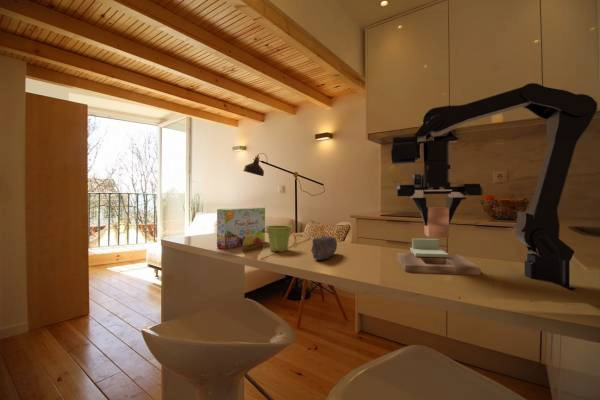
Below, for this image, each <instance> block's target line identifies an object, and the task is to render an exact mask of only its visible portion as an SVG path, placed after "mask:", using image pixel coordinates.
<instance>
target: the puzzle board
mask: <svg viewBox="0 0 600 400" xmlns="http://www.w3.org/2000/svg"><path fill="white" fill-rule="evenodd" d="M396 253H397V255H396V257H397V260H398V262H399V265H400V266H401V268H402V269H403V271H404V272H405V273H424V274H425V273H426V274H427V273H429V274H449V275H450V274H453V275H471V276H472V275H473V276H475V275H476V276H480V275H481V267H480V266H478V265H476V264H475V263H472V262H471V261H470V260H468V259H466V258H465V257H463V256H461V255H460V254H449V257H420V256H415V255H414V254H413V253H409V252H408V253H402V252H401V253H400V252H396Z"/></svg>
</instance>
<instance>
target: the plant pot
mask: <svg viewBox="0 0 600 400" xmlns="http://www.w3.org/2000/svg"><path fill="white" fill-rule="evenodd" d="M292 228H293V226H292V225H283V224H282V225H279V224H278V225H277V224H276V225H275V224H274V225H273V224H272V225H267V226H266V225H265V229H266V231H267V234H268V235H267V236H268V241H269V249H270V251H271V252H286V251H288V248H289V239H290V233H291V231H292Z"/></svg>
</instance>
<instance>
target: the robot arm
mask: <svg viewBox="0 0 600 400" xmlns="http://www.w3.org/2000/svg"><path fill="white" fill-rule="evenodd" d="M598 106H599V105H598V101H596V100H595V99H594V98H593V97H592V96H590V95H588V94H583V93H579V94H577V93H574V92H572V91H569V90H565V89H561V88H559V89H558V88H552V87H547V86H545V85H542V84H539V83H535V82H530V83H527V84H525V85H523V86H521V87H517V88H514V89H511V90H508V91H505V92H501V93H497V94H495V95H491V96H487V97H485V98H481V99H477V100H475V101H472V102H468V103H466V104H460V105H459V104H457V105H455V104H454V105H453V104H452V105H451V104H450V105H443V106H437V107H432V108H430V109H429V110H428V111H426V113H425V114H424V116H423V119H422V122H423V123H422V125H420V127H419V128H418V130H417V131H416V132H415V134H414V136H406V137H405V136H403V137H399V136H396V137H393V138H392V143H391V144H392V146H391V149H390V152H391V153H390V154H391V155H390V157H391V164H392V165H401V164H402V165H403V164H404V165H405V164H407V165H409V164H416V163H417V161H419V160H420V159H421V146H422V151H423V153H422V160H423V162H422V164H423V168H422V174H419V173H417V174H416V173H415V174H412V178H411V180H412V181H411V182H412V183H411V184H399V185H397V186H396V187H395V188H394V197H409V199H408V200H409V201H410V200H412V201H413V202H414V203H415V204H416V207H417V209H418V211H419V214H420V217H421V219H422V222H423V224H424V225H425V226H427V207H428V206H427V197H424V195H448V196H446V197H445V203H446V204H445V205H446V206H445V207H446V208H449V224H451V221H452V220H453V219H452V218H453V216H454V214H455V213H456V210H457V209H458V207H459V205H460V203H461V202H462V201H463V200H464V201H465V200H467V197H466V196H469V197H471V196H483V195H484V189H483V186H482V185H481V183H458V184H457V185H456V186H451V182H450V170H451V164H450V144H456V143H457V142H458V141H459V137H457V136H456V135H454V134H453V132H452V130H455V129H457V128H458V127H460V126H462V125H464V124H466V123H470V122H473V121H477V120H480V119H483V118H488V117H490V116H495V115H498V114H502V113H505V112H509V111H511V110H512V111H513V110H516V109H519V108H523V109H526V110H528V111H529V112H531V113H532V114H534V115H535V116H536V117H538V118H540V119H543V120H545V121H546V134H547V141H548V143H547V147H546V150H545V154H544V158H543V163H542V165H541V170H540V172H539V176H538V180H537V183H536V187H535V191H534V194H533V197H532V201H531V205H530V206H529V208H528V209H527V210H526V212H524V211H518V212H517V213H516V214H517V215H516V216H517V217H516V218H517V219H516V222H515V224H514V226H513V227H512V228H513V230H515V237H516V238H517V240H518V241H519V242H521V244H524V245H525V248H526V250H527V252H529V253H526V260H524V276H525V277H527V278H528V279H531V280H538V281H539V280H541V281H546V282H551V283H553V284H555V285H557V286H560V287H561V288H564V289H566V290H576V286H574V285H572V284H571V283H570V280H571V279H570V278H571V277H570V276H571V273H570V271H571V270H570V269H571V267H570V266H571V265H570V261H571V260H572V258H573V255H574V253H575V250H574V249H573V248H571V246H569V245H567V243H565V241H563V240H561V239H560V231H561V230H560V229H561V223H560V218H559V217H560V216H559V205H560V202H561V198H562V195H563V191H564V189H565V185H566V182H567V177H568V174H569V171H570V167H571V164H572V161H573V156H574V153H575V149H576V146H577V143H578V141H579V140H580V139H581V138H582V136H583V134H584V133H585V132H586V130H587V129H588V128H589V126H591V125H590V124H591V123H592V120H593V119H594V117H595V115H596V113H597V110H598ZM446 133H448V134H446ZM444 134H446V135H444ZM432 137H433V139H431V138H432ZM429 139H431V140H429ZM441 188H442V189H441Z"/></svg>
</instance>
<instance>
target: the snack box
mask: <svg viewBox="0 0 600 400" xmlns="http://www.w3.org/2000/svg"><path fill="white" fill-rule="evenodd" d="M265 242H266V207H262V206H261V207H259V206H257V207H256V206H255V207H251V206H250V207H234V208H233V207H231V208H217V210H216V247H217V248H218V249H222V250H227V249H233V248H238V247H239V248H240V247H244V246H249V245H255V244H254V243H256V244H259V243H261V244H262V243H265Z"/></svg>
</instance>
